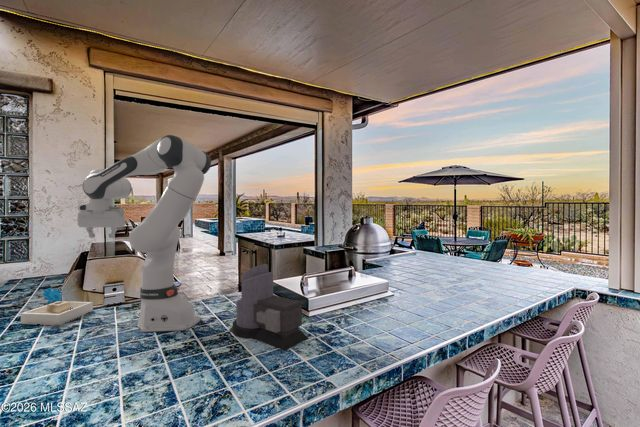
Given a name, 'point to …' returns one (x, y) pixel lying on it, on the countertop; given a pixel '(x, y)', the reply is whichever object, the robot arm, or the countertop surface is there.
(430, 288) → the countertop surface
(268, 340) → the juicer
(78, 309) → the tray
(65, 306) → the block
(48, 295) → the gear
